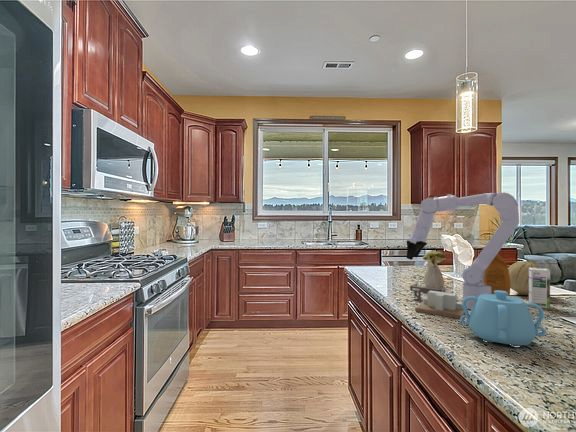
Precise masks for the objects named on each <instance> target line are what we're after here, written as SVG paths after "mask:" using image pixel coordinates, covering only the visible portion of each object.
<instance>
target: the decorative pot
mask: <svg viewBox="0 0 576 432" xmlns="http://www.w3.org/2000/svg"><path fill="white" fill-rule="evenodd" d="M494 293H495V294H481V295H479V297H478V298H477V297H475V296H468V297H466V298H464V299H463V298H462V302H461V303H462V306H463V310H464V312H465V315H463V316H461V318H460V319H459V320H460V322H461V323H462V324H463V325H465V326H469V328H470V330H471V331H472V333H473V334H474V335H475V336H476V337H478V338H479V339H481V340H482V339H483V340H484V341H487V342H486V343H488V342H492V343H493V342H494V343H499V344H503V345H509V344H511V345H513V346H521V347H522V346H528V345H530V344H531V343H532V342H533V341H534V339H535V337H544V336H545V335H546V334H547V333H546V332H547V330H546V329H545V327H543V326H540V325H541V323H542V321H543V320H544V315H545V312H544V308H541V307H540V306H539V305H537V304H534V303H529V302H525V301H524V300H523V299H522V298H520V297H517V296H512V295H510V296H507V294H508V292H506V291H501V290H495V291H494ZM467 300H476V302H475V303H474V305H473V307H472V310H471V309H470V312H469V309H467V306H466V301H467ZM529 307H532V308H534V309H536V310H537V311H538V316H537V319H536V321H534V319H533V316H532V313H531V311H530V309H529ZM465 319H466V320H465ZM538 330H541V332H539V331H538ZM484 341H483V342H484Z"/></svg>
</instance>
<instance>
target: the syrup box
mask: <svg viewBox="0 0 576 432" xmlns="http://www.w3.org/2000/svg"><path fill="white" fill-rule="evenodd" d="M528 303H534V304H537V305H539V306H540V307H541V308H542V309H551V270H550V269H549V268H544V267H543V268H542V267H541V268H531V267H529V295H528Z"/></svg>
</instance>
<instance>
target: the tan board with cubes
mask: <svg viewBox="0 0 576 432" xmlns="http://www.w3.org/2000/svg"><path fill="white" fill-rule="evenodd" d="M426 294H427V296H426V297H425V296H424V298H423V300H422V301H421V302H420V303H419V304H418V305H416V306H415V307H414V312H419V313H425V314H429V315H437V316H441V317H448V318H449V317H450V318H453V317H454V318H455V319H459V318H461V316H463V315H464V314H465V312H464V310H463V306H462V302H461V301H460V302H458V301H457V293H453V292H451V293H446V292H438V291H431V290H430V291H429V292H427V293H426Z"/></svg>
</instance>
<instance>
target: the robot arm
mask: <svg viewBox="0 0 576 432" xmlns="http://www.w3.org/2000/svg"><path fill="white" fill-rule="evenodd" d="M481 204H483V205H488V206H492V207H493V208H494V209H495V210H497V212H498V213H499V216H500V220H501V223H500V224H499V226H498V227H497V228H496V230H495V232H494V233H493V234H492V235H491V237H490V238H489V240H488V242H487V243H486V244H485V246H484V247H483V248H482V250H481V252H479V254H478V255H477V257H476V258H475V260H473V262H472V263H471V264H470V265H469V266H468V267H466V268H465V269H464V270H463V271H462V272H461V277H462V279H463V281H462V300H463V299H464V298H466V297H468V296H475V297H477V298H478V297H479V295H481V294H492V290H491V286H486V285H485V283H484V282H483V280H482V279H483V278H484V277H485V271H486V269H487V268H488V266H489V264H490V263H491V262H492V260H493V259H494V257H495V256H496V255H497V253H498V252H499V251H500V249H501V250H502V247H504V245H505V244H506V242H507V241H508V239H509V238H510V237H511V236H512V234H513V232H514V231H515V230H516V229H517V227H518V226H519V224H520V213H519V203H518V202H517V200H516V198H515V197H514V196H513V195H512V194H510V193H508V192H499V193H498V192H489V193H487V192H485V193H481V194H474V195H467V196H461V197H457V196H456V195H454V194H453V195H452V194H451V193H449V194H446V195H445V196H440V197H438V196H434V197H433V198H431V197H426V198H425V199H423V200H422V201H421V202H420V211H419V213H418V216H417V219H416V222H415V225H414V228H413V230H412V233H409V234H408V236H409V237H410V238H411V239H409V240H406V246H407V249H406V250H407V251H406V259H408V260H410V261H411V260H413V259H414V258H415V259H417V258H418V257H419V255H420V254H421V252H422V250H423V249H424V248H425V247H426V246H427V244H428V243H427V238H428V236H429V232H430V230H431V227H432V224H433V221H434V217H435V214H436V213H439V212H440V213H441V212H448V211H449V212H450V211H456V210H457V209H459V207H462V206H463V207H464V206H473V205H481ZM499 253H500V252H499ZM475 302H476V300H467V301H466V306H467V310H470V311H471V310H472V307H473V305H474V303H475Z"/></svg>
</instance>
